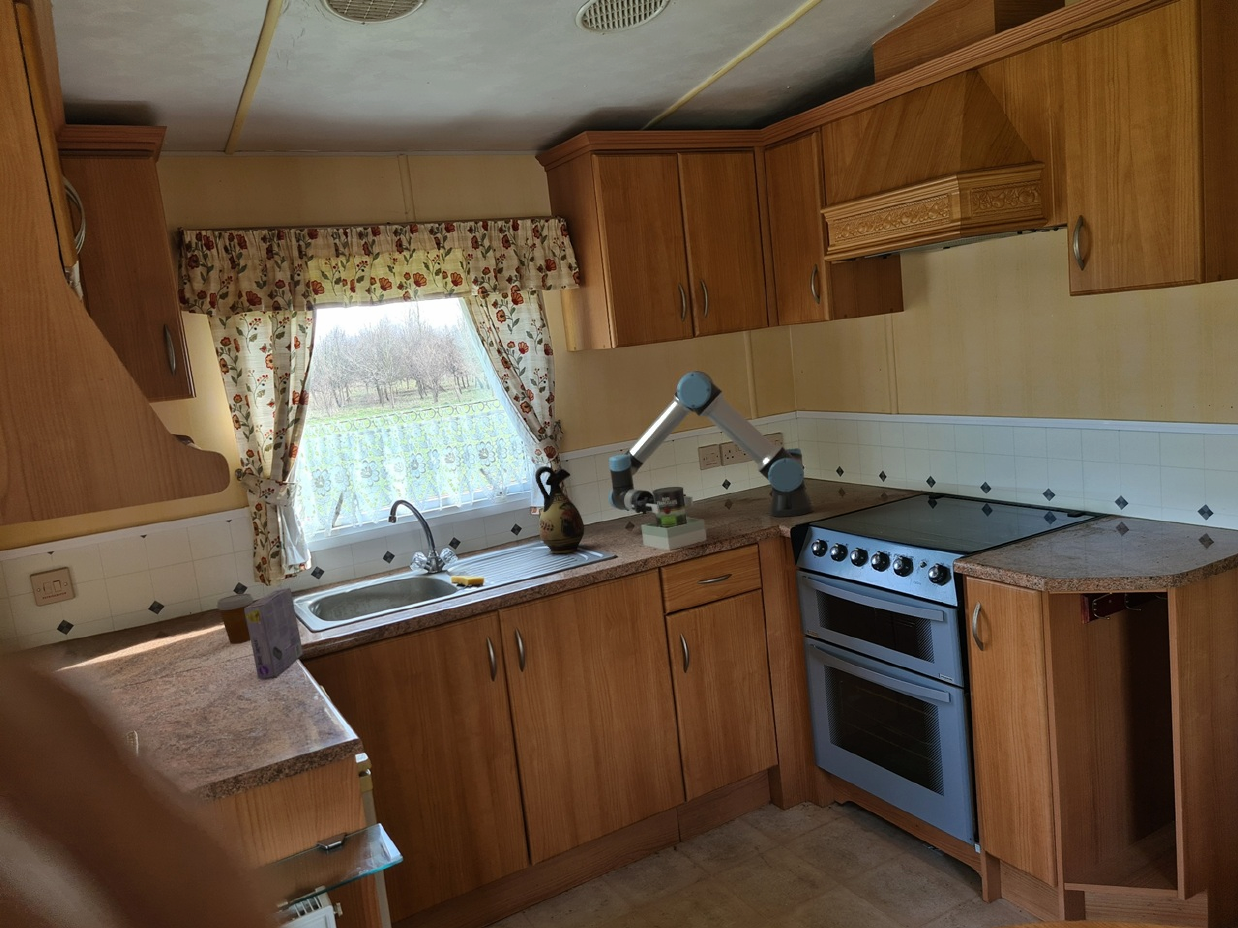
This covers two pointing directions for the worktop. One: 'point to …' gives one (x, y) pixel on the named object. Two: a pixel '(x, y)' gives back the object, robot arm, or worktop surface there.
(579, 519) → the ceramic jug
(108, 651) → the worktop surface
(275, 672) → the cake pan box
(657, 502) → the coffee can
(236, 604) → the disposable coffee cup
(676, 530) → the open rectangular storage box
